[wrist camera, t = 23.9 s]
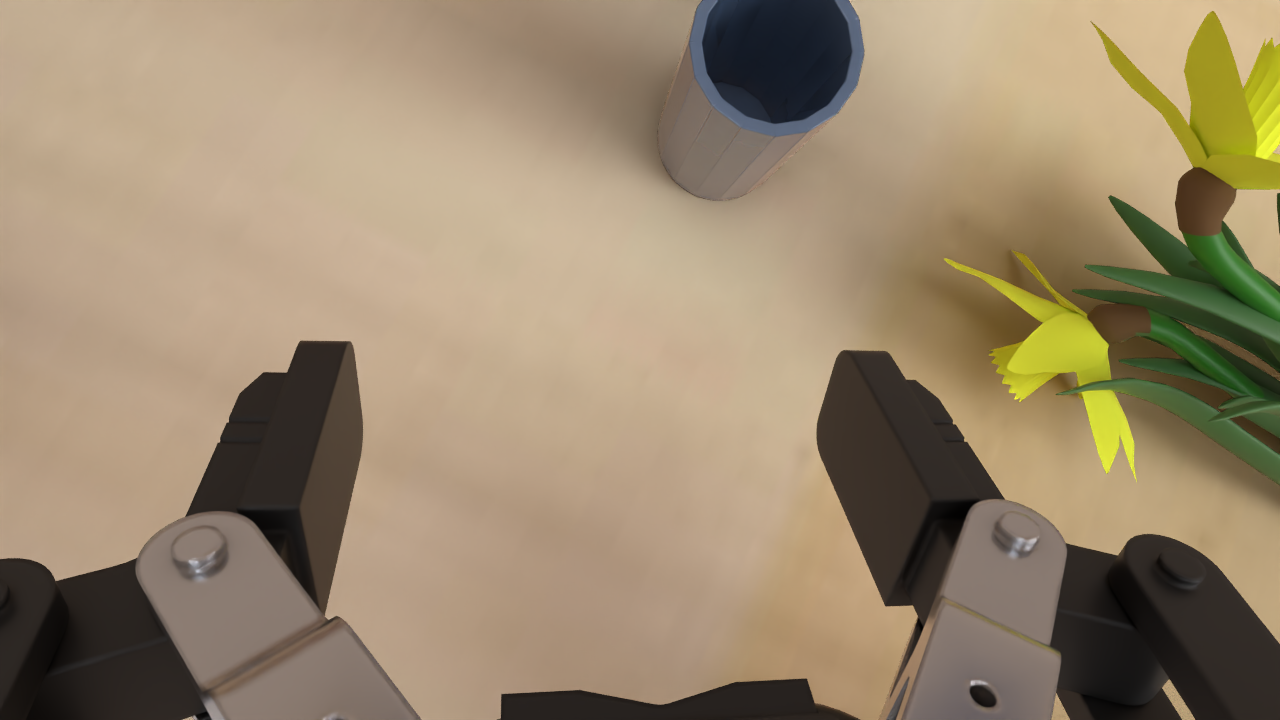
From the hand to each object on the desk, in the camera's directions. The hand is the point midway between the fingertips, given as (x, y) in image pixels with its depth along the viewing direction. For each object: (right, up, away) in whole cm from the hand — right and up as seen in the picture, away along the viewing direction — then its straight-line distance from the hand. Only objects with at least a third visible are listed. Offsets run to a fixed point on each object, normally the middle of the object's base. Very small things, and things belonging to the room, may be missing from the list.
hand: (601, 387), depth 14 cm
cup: (+4, +11, +26) cm, 29 cm away
